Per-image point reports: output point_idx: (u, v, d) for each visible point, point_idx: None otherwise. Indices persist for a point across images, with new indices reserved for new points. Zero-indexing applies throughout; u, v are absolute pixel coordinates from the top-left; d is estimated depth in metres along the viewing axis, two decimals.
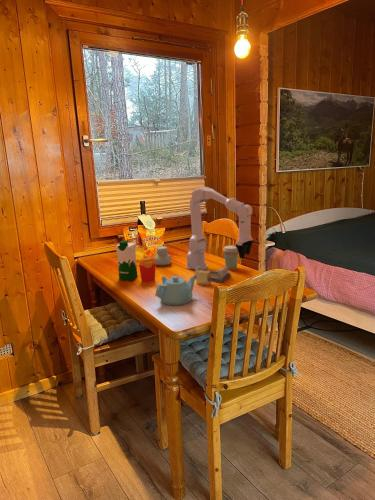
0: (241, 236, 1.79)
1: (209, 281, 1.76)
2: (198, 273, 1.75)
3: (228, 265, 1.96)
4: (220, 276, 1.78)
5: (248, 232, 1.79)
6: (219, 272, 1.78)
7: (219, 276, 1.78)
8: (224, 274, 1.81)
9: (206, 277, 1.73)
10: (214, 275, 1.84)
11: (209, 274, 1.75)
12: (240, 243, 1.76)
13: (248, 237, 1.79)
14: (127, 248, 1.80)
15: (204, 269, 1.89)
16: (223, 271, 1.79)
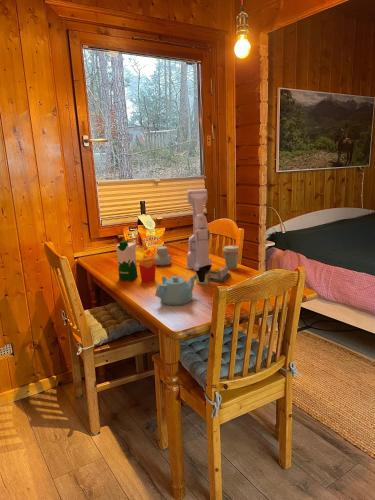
0: (199, 260, 1.72)
1: (209, 281, 1.76)
2: None
3: (228, 265, 1.96)
4: (220, 276, 1.78)
5: (206, 256, 1.71)
6: (219, 272, 1.78)
7: (219, 276, 1.78)
8: (224, 274, 1.81)
9: (206, 277, 1.73)
10: (214, 275, 1.84)
11: (209, 274, 1.75)
12: (196, 268, 1.68)
13: (206, 261, 1.72)
14: (127, 248, 1.80)
15: None
16: (223, 271, 1.79)
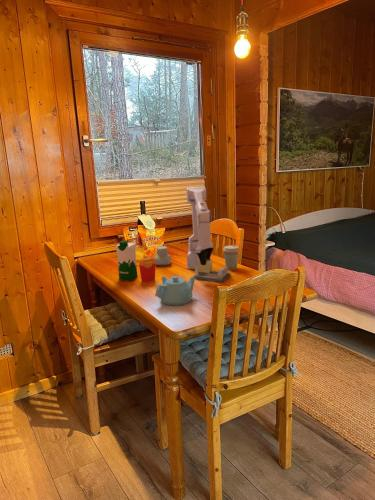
0: (200, 243, 1.72)
1: (211, 268, 1.76)
2: None
3: (228, 265, 1.96)
4: (220, 276, 1.78)
5: (207, 239, 1.71)
6: (219, 272, 1.78)
7: (219, 276, 1.78)
8: (224, 274, 1.81)
9: (208, 264, 1.74)
10: (214, 275, 1.84)
11: (211, 261, 1.75)
12: (198, 251, 1.68)
13: (207, 244, 1.72)
14: (127, 248, 1.80)
15: None
16: (223, 271, 1.79)
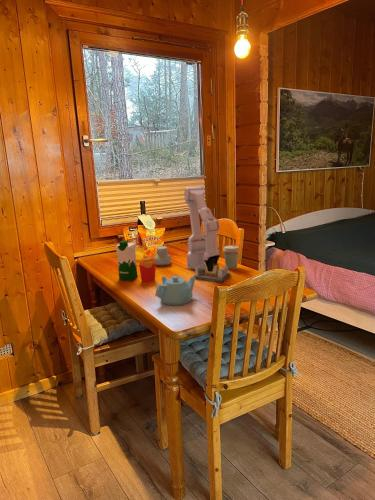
0: (207, 250, 1.79)
1: None
2: None
3: (228, 265, 1.96)
4: (220, 276, 1.78)
5: (214, 247, 1.79)
6: (219, 272, 1.78)
7: (219, 276, 1.78)
8: (224, 274, 1.81)
9: (215, 269, 1.81)
10: None
11: (218, 266, 1.82)
12: (206, 258, 1.76)
13: (214, 252, 1.79)
14: (127, 248, 1.80)
15: (204, 269, 1.89)
16: (223, 271, 1.79)
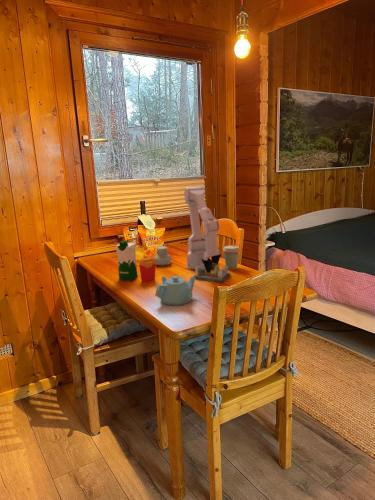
0: (207, 251, 1.79)
1: None
2: None
3: (228, 265, 1.96)
4: (220, 276, 1.78)
5: (214, 247, 1.79)
6: (219, 272, 1.78)
7: (219, 276, 1.78)
8: (224, 274, 1.81)
9: (215, 269, 1.81)
10: None
11: (218, 266, 1.82)
12: (205, 258, 1.76)
13: (214, 252, 1.79)
14: (127, 248, 1.80)
15: (204, 269, 1.89)
16: (223, 271, 1.79)
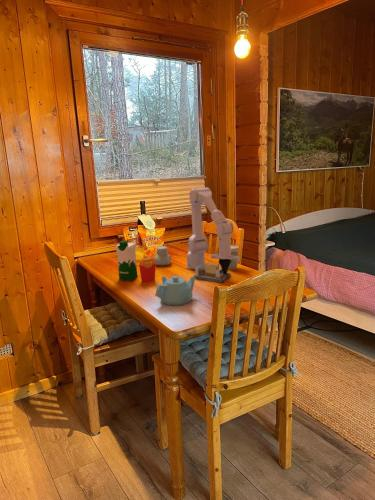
0: None
1: None
2: (207, 265, 1.83)
3: None
4: (218, 276, 1.79)
5: (220, 249, 1.76)
6: (217, 272, 1.78)
7: (217, 275, 1.79)
8: (222, 274, 1.81)
9: (215, 269, 1.81)
10: None
11: (218, 266, 1.82)
12: None
13: (220, 254, 1.77)
14: (127, 248, 1.80)
15: (204, 269, 1.89)
16: (221, 271, 1.80)
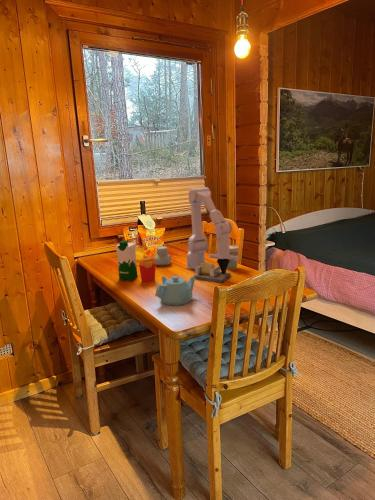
0: None
1: None
2: (203, 265, 1.84)
3: (228, 265, 1.96)
4: (212, 275, 1.80)
5: (218, 249, 1.77)
6: (211, 271, 1.80)
7: (211, 274, 1.80)
8: (216, 273, 1.83)
9: (210, 268, 1.82)
10: None
11: (213, 265, 1.84)
12: None
13: (218, 254, 1.77)
14: (127, 248, 1.80)
15: None
16: (215, 270, 1.81)
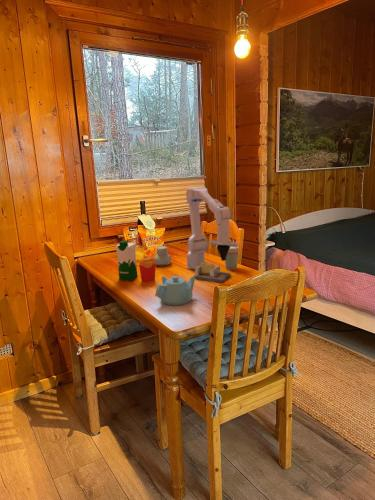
0: None
1: None
2: (203, 265, 1.84)
3: (228, 265, 1.96)
4: (212, 275, 1.80)
5: (218, 235, 1.74)
6: (211, 271, 1.80)
7: (211, 274, 1.80)
8: (216, 273, 1.83)
9: (210, 268, 1.82)
10: None
11: (213, 265, 1.84)
12: None
13: (218, 240, 1.74)
14: (127, 248, 1.80)
15: None
16: (215, 270, 1.81)
